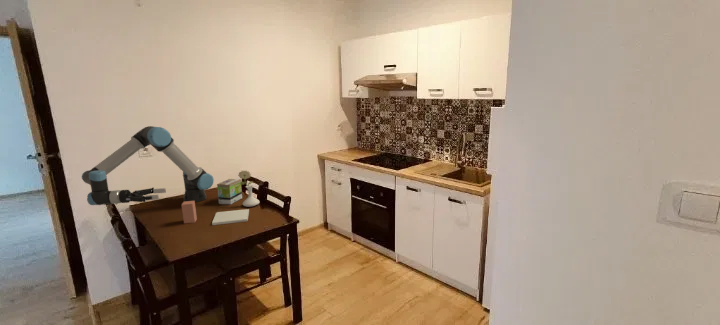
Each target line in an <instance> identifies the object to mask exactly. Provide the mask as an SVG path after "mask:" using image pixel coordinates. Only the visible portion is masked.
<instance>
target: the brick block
mask: <svg viewBox="0 0 720 325" xmlns="http://www.w3.org/2000/svg"><path fill="white" fill-rule="evenodd" d="M181 211H182V217H183V224H184V225H186V224H191V223H192V224H194V223H196V221H197V219H198V217H197V209H196V202H195V201H185V202H184V201H183V202H182V203H181Z"/></svg>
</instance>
